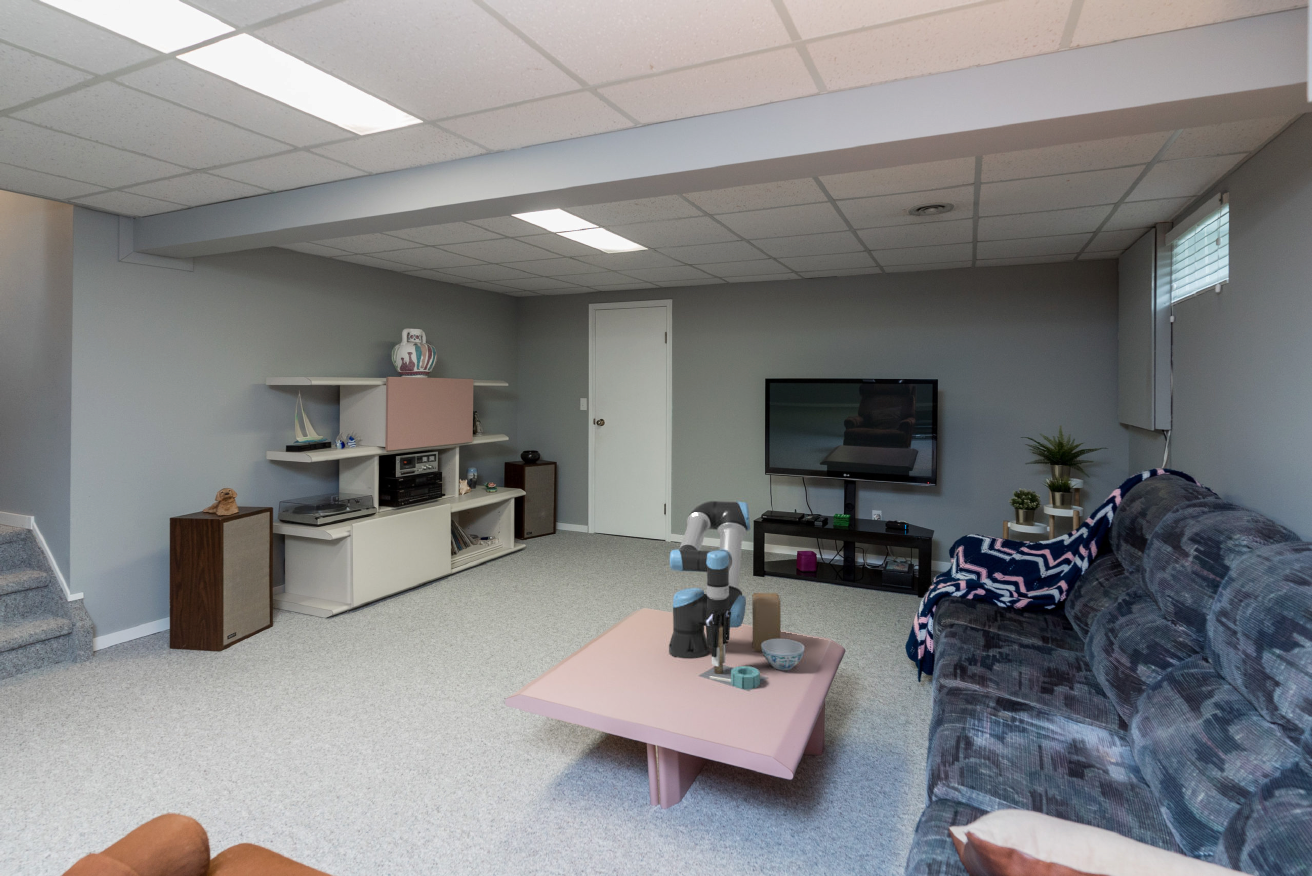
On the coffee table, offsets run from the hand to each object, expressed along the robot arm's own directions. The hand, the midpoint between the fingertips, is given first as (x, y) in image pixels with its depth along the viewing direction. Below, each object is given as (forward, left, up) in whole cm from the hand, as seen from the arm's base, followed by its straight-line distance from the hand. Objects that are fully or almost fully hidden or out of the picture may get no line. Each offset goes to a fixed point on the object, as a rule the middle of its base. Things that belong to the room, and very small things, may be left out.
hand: (718, 663), depth 236 cm
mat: (+6, 0, -4) cm, 7 cm away
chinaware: (+15, +18, -4) cm, 24 cm away
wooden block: (+1, +31, -4) cm, 31 cm away
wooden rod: (0, 0, -3) cm, 3 cm away
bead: (+12, -2, -3) cm, 13 cm away
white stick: (+4, -5, -3) cm, 7 cm away
